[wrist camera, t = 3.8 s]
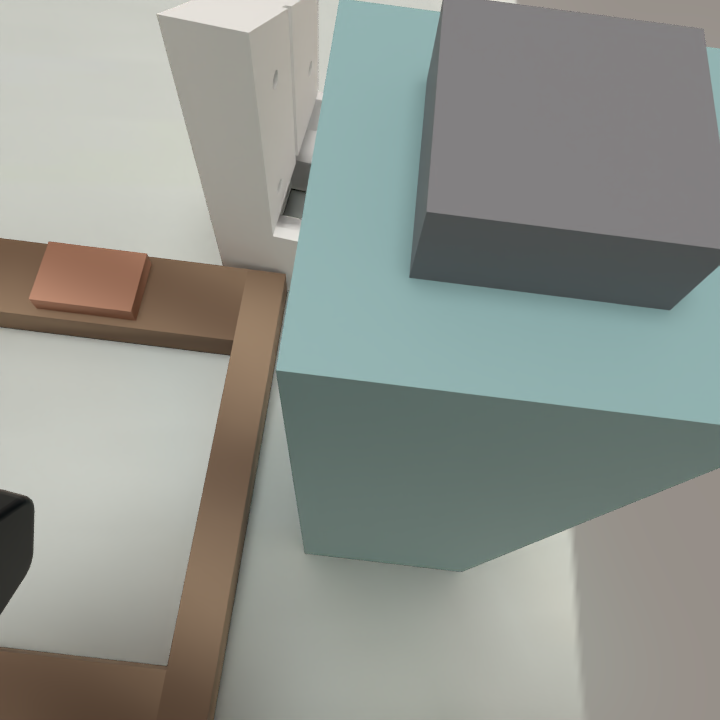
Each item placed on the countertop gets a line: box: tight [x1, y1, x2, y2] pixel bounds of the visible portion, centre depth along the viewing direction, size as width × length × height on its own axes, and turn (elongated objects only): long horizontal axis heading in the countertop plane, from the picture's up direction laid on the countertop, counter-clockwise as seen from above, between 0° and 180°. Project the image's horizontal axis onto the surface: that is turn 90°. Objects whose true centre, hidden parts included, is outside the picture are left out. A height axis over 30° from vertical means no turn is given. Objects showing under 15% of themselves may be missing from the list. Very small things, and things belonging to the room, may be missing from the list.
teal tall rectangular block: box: [276, 0, 720, 572], centre depth 12 cm, size 4×4×15 cm
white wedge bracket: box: [157, 0, 323, 291], centre depth 19 cm, size 4×10×9 cm, turn 168°
